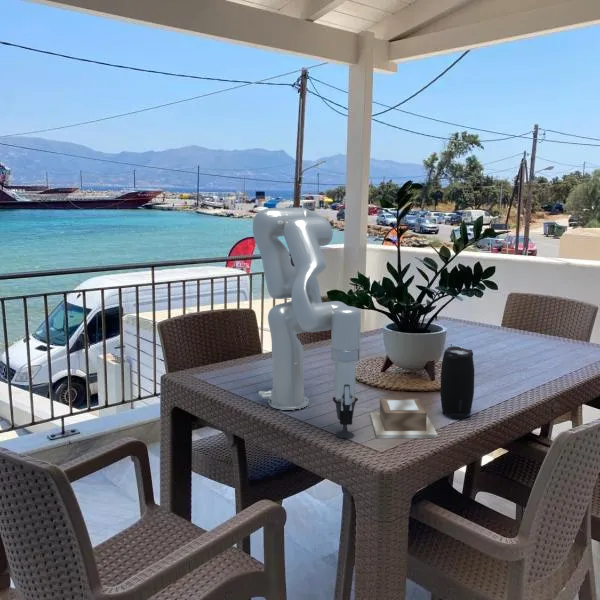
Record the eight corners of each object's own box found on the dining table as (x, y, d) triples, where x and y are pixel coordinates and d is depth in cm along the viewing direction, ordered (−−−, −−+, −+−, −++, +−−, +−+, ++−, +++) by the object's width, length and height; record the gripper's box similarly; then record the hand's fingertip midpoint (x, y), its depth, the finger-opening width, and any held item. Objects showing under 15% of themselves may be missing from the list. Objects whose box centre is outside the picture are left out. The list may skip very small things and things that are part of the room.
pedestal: (376, 438, 150) (376, 416, 149) (369, 415, 166) (370, 395, 165) (437, 438, 150) (438, 415, 149) (425, 415, 166) (425, 394, 165)
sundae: (356, 441, 149) (357, 386, 146) (331, 439, 150) (331, 384, 147) (358, 430, 155) (359, 378, 152) (334, 429, 156) (334, 376, 154)
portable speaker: (442, 408, 171) (444, 344, 168) (474, 412, 168) (477, 347, 164) (436, 417, 164) (439, 351, 160) (470, 422, 160) (473, 355, 156)
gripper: (329, 345, 157) (329, 408, 160) (332, 363, 140) (332, 433, 143) (357, 345, 157) (356, 408, 160) (363, 363, 140) (362, 433, 143)
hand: (345, 419), depth 152 cm, fingers closed on sundae, 4 cm apart
